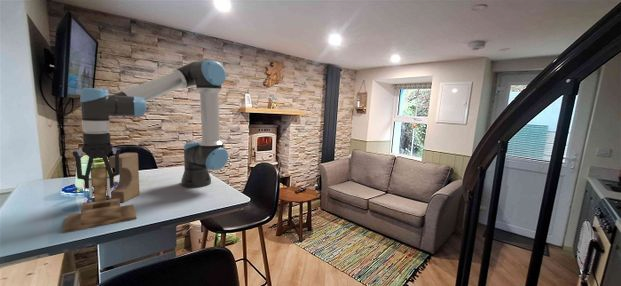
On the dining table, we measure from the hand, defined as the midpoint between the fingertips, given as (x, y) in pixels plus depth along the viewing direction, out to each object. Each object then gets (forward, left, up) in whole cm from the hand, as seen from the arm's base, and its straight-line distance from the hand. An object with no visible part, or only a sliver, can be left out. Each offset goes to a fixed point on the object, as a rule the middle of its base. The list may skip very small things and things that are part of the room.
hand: (100, 195), depth 94 cm
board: (0, 0, -9) cm, 9 cm away
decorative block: (-8, -20, -9) cm, 23 cm away
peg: (0, 0, -2) cm, 2 cm away
